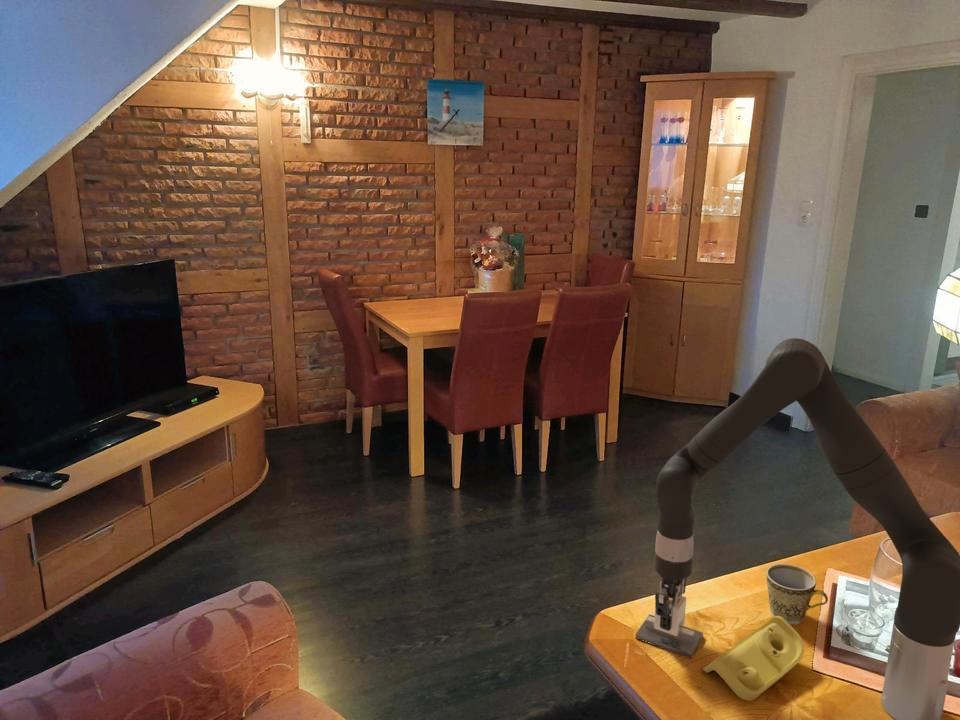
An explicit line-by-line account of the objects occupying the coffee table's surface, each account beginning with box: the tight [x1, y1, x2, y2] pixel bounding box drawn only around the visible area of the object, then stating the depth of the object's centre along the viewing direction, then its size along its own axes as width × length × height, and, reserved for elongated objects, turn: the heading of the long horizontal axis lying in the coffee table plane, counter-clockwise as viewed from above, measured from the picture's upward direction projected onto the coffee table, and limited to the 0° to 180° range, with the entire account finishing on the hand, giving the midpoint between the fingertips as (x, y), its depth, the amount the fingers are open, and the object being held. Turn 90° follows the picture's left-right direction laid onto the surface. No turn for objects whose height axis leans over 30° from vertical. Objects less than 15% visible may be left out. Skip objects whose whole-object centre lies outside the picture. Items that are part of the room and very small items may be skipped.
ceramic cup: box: [766, 563, 829, 626], centre depth 152 cm, size 13×10×10 cm
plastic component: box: [702, 616, 805, 702], centre depth 138 cm, size 20×7×10 cm
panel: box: [635, 614, 704, 659], centre depth 148 cm, size 12×8×3 cm, turn 56°
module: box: [654, 595, 687, 636], centre depth 147 cm, size 5×5×7 cm
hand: (669, 621), depth 147 cm, fingers closed on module, 4 cm apart
